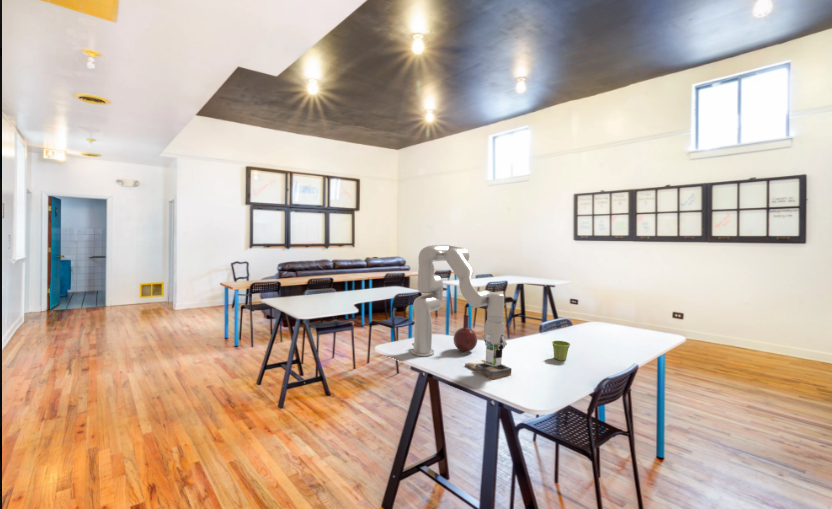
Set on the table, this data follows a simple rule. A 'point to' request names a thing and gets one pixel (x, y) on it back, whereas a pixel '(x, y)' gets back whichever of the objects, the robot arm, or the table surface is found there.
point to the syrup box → (492, 353)
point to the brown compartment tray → (489, 369)
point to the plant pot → (560, 349)
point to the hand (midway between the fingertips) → (493, 355)
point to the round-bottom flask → (465, 337)
